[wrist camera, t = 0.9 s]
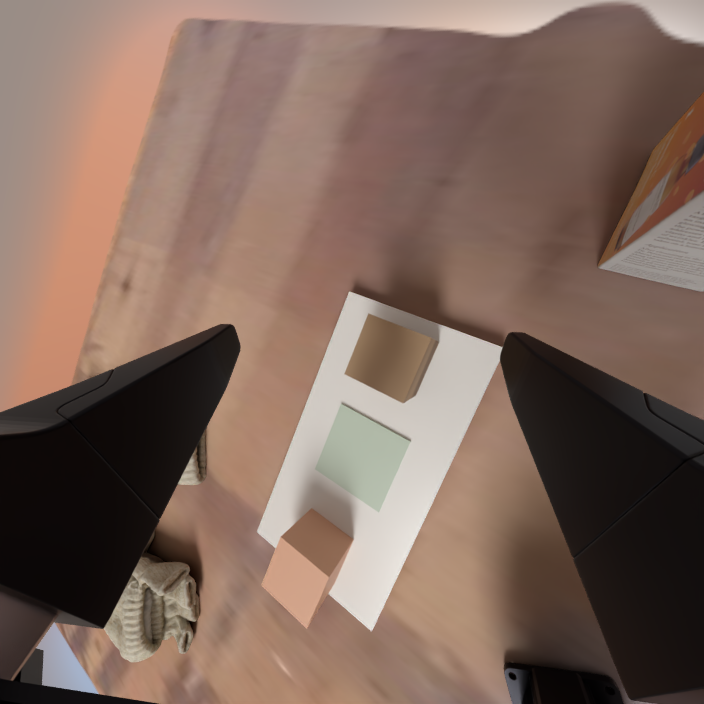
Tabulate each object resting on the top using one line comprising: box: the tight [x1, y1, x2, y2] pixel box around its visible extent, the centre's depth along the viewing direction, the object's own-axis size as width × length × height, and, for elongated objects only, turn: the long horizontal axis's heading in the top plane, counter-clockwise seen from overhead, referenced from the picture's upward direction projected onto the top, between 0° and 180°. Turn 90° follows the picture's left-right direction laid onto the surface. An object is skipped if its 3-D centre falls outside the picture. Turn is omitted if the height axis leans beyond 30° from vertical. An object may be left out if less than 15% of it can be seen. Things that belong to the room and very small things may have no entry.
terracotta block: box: [262, 508, 354, 628], centre depth 23 cm, size 4×4×4 cm
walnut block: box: [344, 313, 439, 403], centre depth 21 cm, size 4×4×4 cm
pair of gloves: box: [104, 431, 206, 662], centre depth 35 cm, size 30×26×5 cm
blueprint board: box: [257, 291, 503, 631], centre depth 24 cm, size 25×13×1 cm, turn 157°
